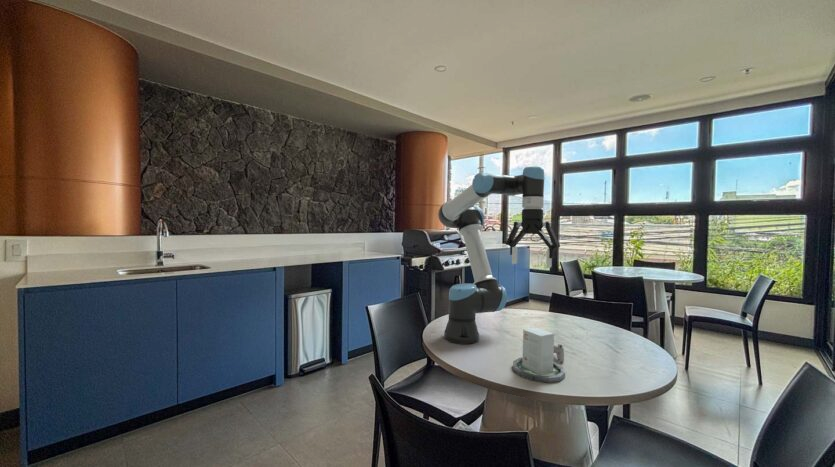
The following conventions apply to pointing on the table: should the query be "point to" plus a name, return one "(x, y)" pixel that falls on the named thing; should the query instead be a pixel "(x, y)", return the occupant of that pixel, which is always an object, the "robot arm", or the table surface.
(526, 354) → the small box
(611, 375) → the table surface
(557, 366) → the steel bowl
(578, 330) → the table surface
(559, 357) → the caliper
